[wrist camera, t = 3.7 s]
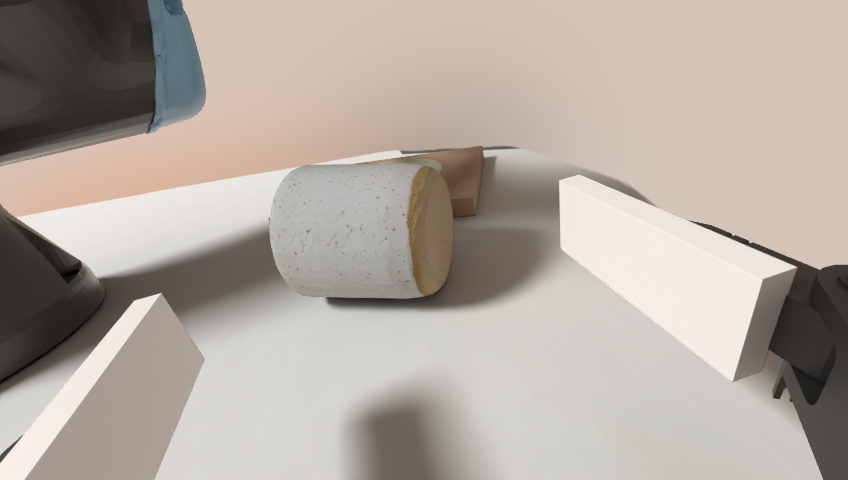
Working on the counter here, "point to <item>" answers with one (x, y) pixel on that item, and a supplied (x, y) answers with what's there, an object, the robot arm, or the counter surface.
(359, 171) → the speckled gray mug
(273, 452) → the counter surface
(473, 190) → the walnut board
